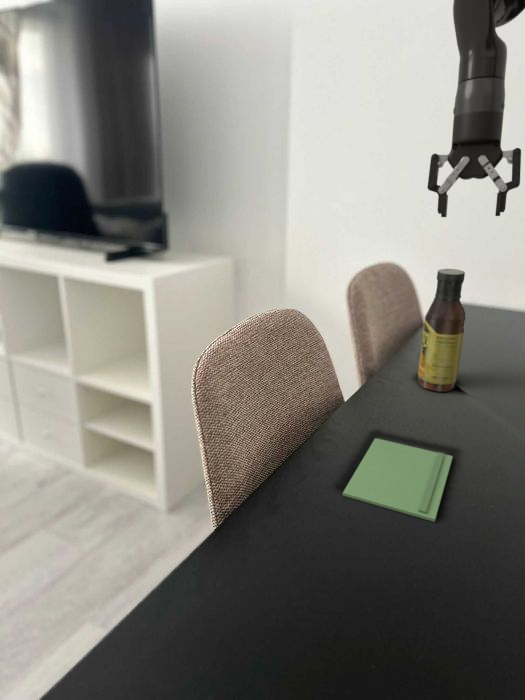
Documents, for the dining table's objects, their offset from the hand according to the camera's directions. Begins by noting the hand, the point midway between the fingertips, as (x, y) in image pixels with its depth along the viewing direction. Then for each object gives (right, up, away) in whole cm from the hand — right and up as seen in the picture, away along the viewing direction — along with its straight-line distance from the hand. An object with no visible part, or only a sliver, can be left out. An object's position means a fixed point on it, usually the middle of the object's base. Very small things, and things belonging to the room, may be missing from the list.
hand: (470, 216), depth 87 cm
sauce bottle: (-6, -29, 0) cm, 30 cm away
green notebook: (-19, -38, -26) cm, 49 cm away
